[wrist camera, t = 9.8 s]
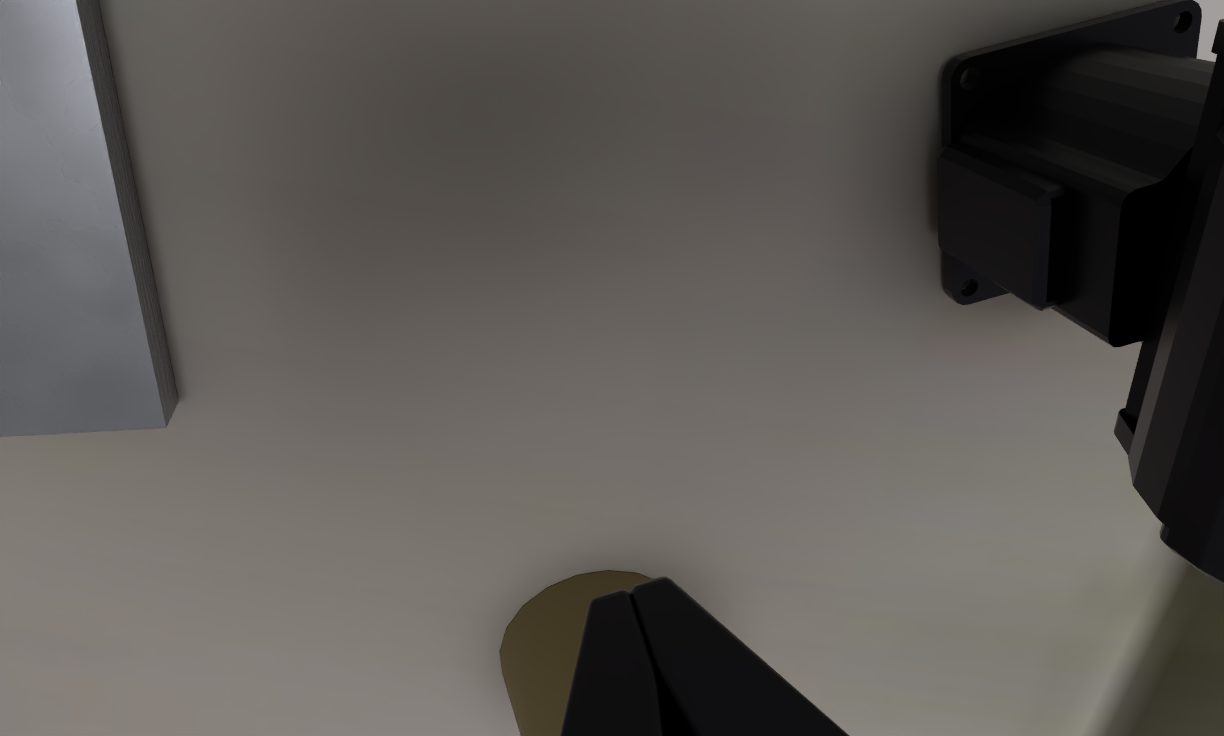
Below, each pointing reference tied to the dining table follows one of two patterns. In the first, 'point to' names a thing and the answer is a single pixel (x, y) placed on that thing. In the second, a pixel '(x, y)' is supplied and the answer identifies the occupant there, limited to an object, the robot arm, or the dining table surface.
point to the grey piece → (71, 237)
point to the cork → (551, 648)
